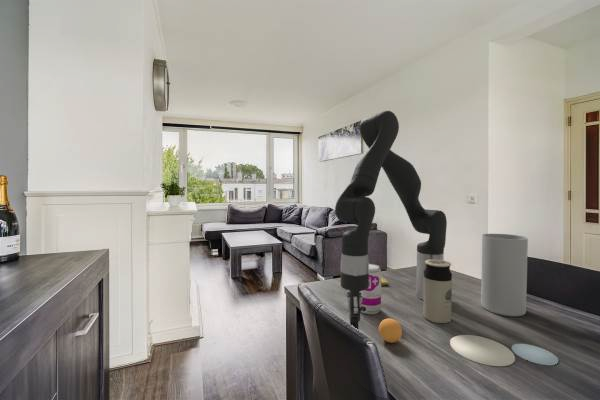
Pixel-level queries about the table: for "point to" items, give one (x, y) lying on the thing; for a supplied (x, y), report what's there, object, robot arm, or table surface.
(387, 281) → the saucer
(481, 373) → the table surface
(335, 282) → the table surface
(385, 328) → the ball
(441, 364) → the table surface
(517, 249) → the cylinder vase
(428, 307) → the travel mug
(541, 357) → the disc
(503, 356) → the disc
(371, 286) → the supplement can
